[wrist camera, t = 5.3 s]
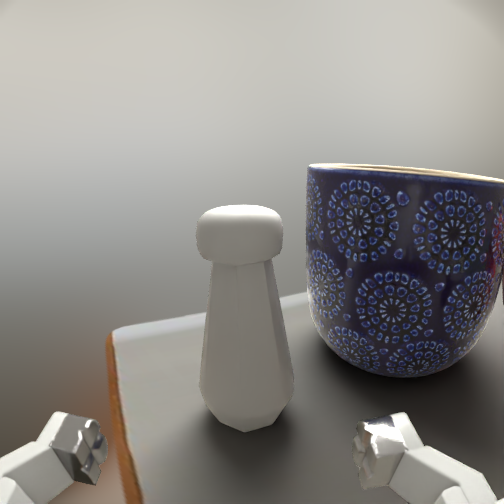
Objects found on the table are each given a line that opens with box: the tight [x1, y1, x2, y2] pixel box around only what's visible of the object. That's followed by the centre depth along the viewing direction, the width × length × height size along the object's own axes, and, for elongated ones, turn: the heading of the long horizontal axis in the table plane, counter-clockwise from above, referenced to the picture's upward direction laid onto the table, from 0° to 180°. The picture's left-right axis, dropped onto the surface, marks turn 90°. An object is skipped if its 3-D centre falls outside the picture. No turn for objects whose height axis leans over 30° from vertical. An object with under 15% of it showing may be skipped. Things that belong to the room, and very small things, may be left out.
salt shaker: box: [196, 205, 294, 432], centre depth 18 cm, size 6×6×13 cm
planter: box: [306, 164, 504, 378], centre depth 24 cm, size 17×17×15 cm
